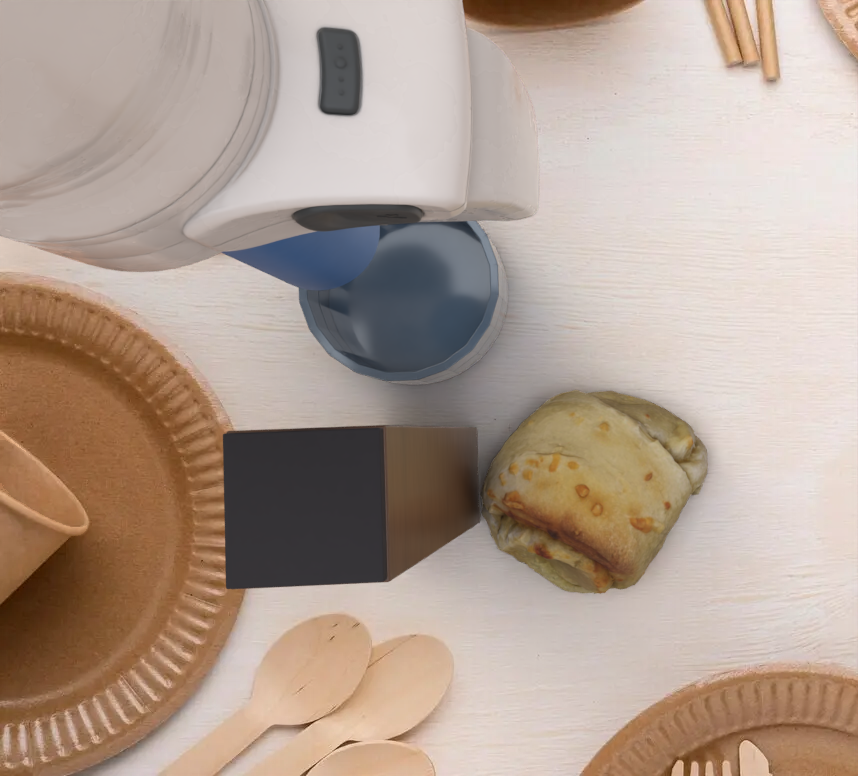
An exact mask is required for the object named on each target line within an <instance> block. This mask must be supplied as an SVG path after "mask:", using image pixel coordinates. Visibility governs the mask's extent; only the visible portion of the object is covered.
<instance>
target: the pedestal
mask: <svg viewBox="0 0 858 776" xmlns="http://www.w3.org/2000/svg"><path fill="white" fill-rule="evenodd" d="M358 428H383V447H384V485H385V523H386V560H387V580H385V581H383V582H371V583H370V584H376V583H377V584H378V583H379V584H380V583H389V582H392V581H393V580H394V579H396V578H398V577H399V576H401V575H402V574H404V573H405V572H406V571H408V570H410V569H411V568H413V567H414V566H415V565H417V564H419V563H421V562H422V561H424V560H425V559H426V558H428V557H430V556H431V555H433V554H435V553H436V552H437V551H439V550H440V549H442V548H444V547H445V546H446V545H448V544H449V543H451V542H452V541H454V540H456V539H457V538H458V537H460V536H462V535H463V534H465V533H467V532H468V531H469V530H471V529H473V528H474V527H475V526H477V525H478V524H480V523H481V511H480V477H479V475H480V474H479V445H478V444H479V442H478V427H474V426H435V425H433V426H432V425H431V426H430V425H399V424H398V425H394V424H392V425H391V424H379V425H351V426H350V425H348V426H326V427H325V426H323V427H296V428H295V427H294V428H293V427H292V428H271V429H270V428H269V429H268V428H267V429H241V430H240V429H239V430H228V431H226V433H250V432H277V431H304V430H331V429H358ZM356 584H357V585H358V584H359V585H360V584H361V583H350V584H349V585H356ZM336 585H339V584H328V585H327V586H336ZM313 586H314V587H315V586H318V585H307V586H306V587H313ZM293 587H296V588H297V586H286V587H285V588H293ZM270 588H271V589H275V587H264V588H263V589H270ZM249 589H251V590H252V589H254V588H243V589H242V590H249Z"/></svg>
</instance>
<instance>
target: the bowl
mask: <svg viewBox="0 0 858 776" xmlns="http://www.w3.org/2000/svg"><path fill="white" fill-rule="evenodd" d="M298 302H299V305H300V308H301V310H302V314H303V316H304V319H305V322H306V324H307V327H308V330H309V332H310V333H311V335H312V336H313V337H314V338H315V339H316V341H317V342H318V343H319V345H320V346H321V347H322V348H323V350H324V351H325V352H326V353H327V354H328V356H330V357H331V358H333V360H335V361H337V362H338V363H340V364H341V365H343V366H345V367H346V368H348V370H350V371H352V372H353V373H356V374H359V375H362V376H366V377H370V378H372V379H377V380H380V381H384V382H388V383H392V384H398V385H402V386H405V385H407V386H408V385H411V386H415V385H416V386H421V385H433V384H436V383H440V382H444V381H447V380H449V379H453V378H455V377H457V376H459V375H461V374H462V373H464V372H466V371H468V370H469V369H470V368H472V367H473V366H474V365H476V364H477V363H478V362H479V361H480V360H481V359H482V358H483V357H484V356H486V354H487V353H488V351H490V349H491V348H492V347H493V345H494V343H495V342H496V340H497V338H499V334H500V333H501V331H502V328H503V325H504V323H505V321H506V316H507V310H508V305H509V285H508V278H507V273H506V270H505V267H504V264H503V261H502V258H501V256H500V254H499V251H498V249H497V247H496V246H495V244H494V243H493V241H492V239H491V238H490V236H489V235H488V234H487V233H486V231H485V229H483V227H482V226H481V225H480V224H479V221H452V222H416V223H405V224H389V225H380V237H379V242H378V246H377V249H376V252H375V254H374V257H373V259H372V260H371V262H370V263H369V265H368V266H367V267H366V269H365V270H364V271H363V272H362V273H361V274H360V275H359V276H357V277H356V278H355V279H353V280H352V281H350V282H348V283H347V284H345V285H342V286H340V287H337V288H333V289H329V290H320V291H319V290H307V289H302V288H299V287H298Z"/></svg>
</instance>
